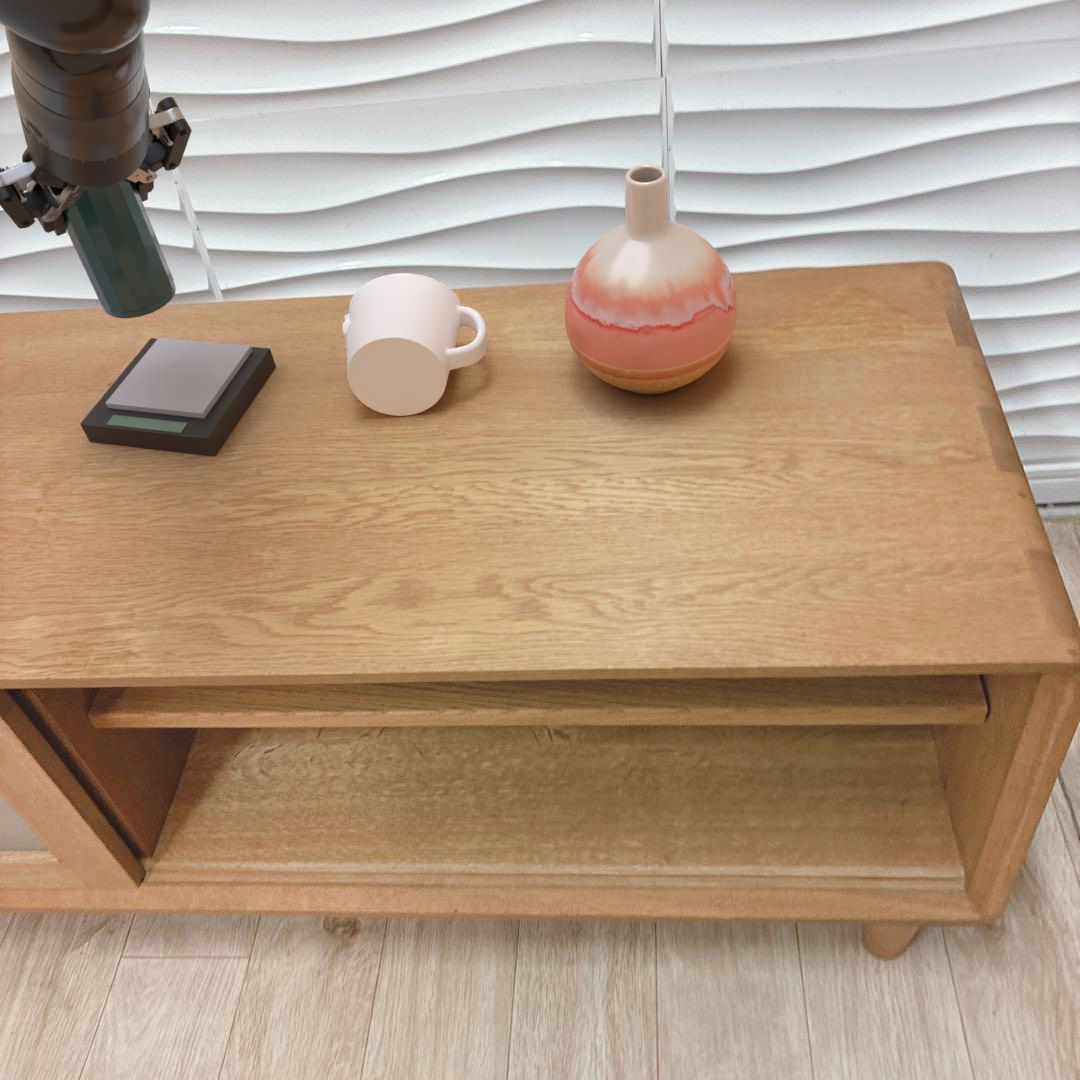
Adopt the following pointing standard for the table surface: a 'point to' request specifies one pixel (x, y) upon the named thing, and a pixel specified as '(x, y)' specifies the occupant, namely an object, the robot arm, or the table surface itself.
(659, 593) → the table surface
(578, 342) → the vase
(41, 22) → the robot arm
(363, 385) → the mug
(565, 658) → the table surface
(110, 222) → the cup
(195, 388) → the scale
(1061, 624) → the table surface
